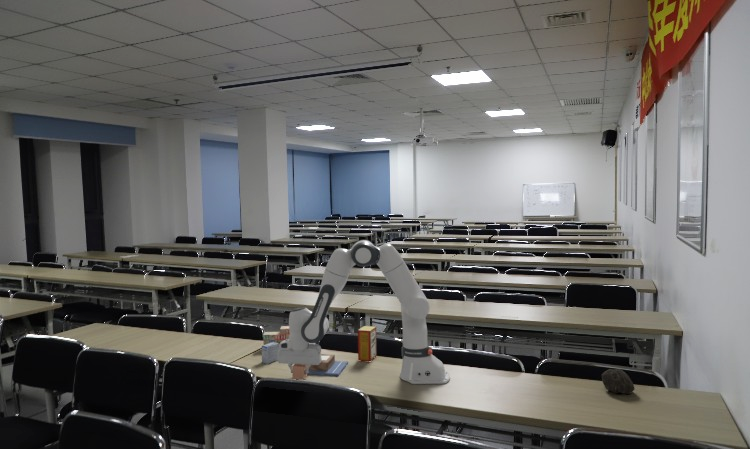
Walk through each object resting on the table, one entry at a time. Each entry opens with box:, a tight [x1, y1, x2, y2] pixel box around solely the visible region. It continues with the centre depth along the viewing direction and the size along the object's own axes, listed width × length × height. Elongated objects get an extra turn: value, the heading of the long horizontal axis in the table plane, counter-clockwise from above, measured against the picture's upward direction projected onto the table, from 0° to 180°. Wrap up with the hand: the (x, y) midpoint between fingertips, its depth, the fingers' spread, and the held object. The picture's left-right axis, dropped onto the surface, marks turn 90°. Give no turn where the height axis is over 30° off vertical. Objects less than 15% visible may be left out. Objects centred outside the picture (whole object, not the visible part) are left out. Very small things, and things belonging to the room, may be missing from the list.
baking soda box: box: [357, 325, 378, 362], centre depth 247 cm, size 10×6×16 cm
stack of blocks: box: [262, 325, 290, 349], centre depth 265 cm, size 21×6×12 cm, turn 93°
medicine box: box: [261, 342, 279, 365], centre depth 245 cm, size 8×4×9 cm, turn 144°
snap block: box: [291, 364, 308, 381], centre depth 220 cm, size 5×5×6 cm
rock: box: [601, 368, 635, 395], centre depth 198 cm, size 10×11×10 cm
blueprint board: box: [307, 353, 349, 377], centre depth 233 cm, size 22×18×5 cm
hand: (299, 373), depth 220 cm, fingers closed on snap block, 5 cm apart
